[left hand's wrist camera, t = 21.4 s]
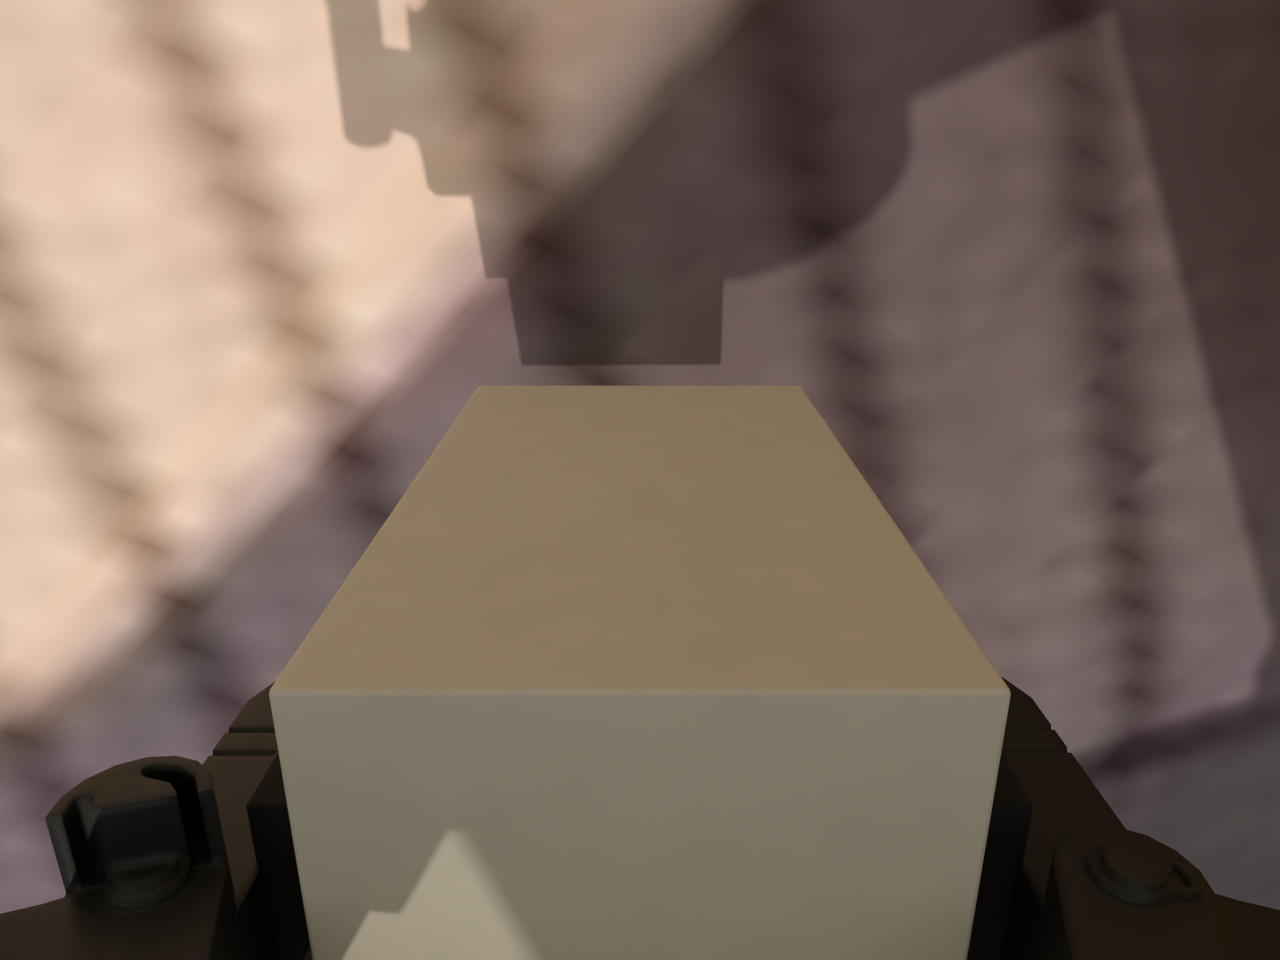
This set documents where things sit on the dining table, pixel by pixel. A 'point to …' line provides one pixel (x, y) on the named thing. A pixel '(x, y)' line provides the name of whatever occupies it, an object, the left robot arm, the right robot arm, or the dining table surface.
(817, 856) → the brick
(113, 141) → the dining table surface
